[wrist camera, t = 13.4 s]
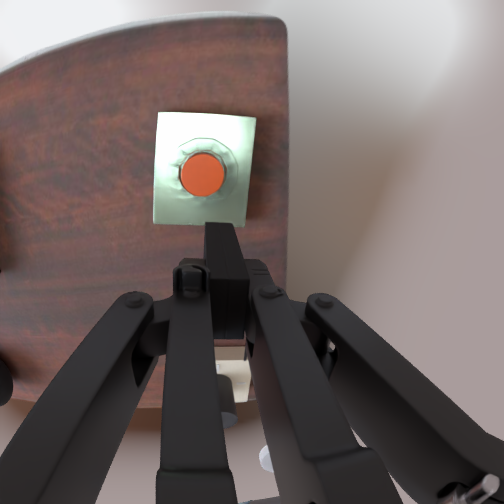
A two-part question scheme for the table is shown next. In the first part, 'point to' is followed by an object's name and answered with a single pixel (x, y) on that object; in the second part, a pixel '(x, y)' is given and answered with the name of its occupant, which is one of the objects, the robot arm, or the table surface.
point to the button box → (193, 142)
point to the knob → (227, 401)
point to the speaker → (5, 384)
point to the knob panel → (234, 369)
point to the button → (202, 174)
